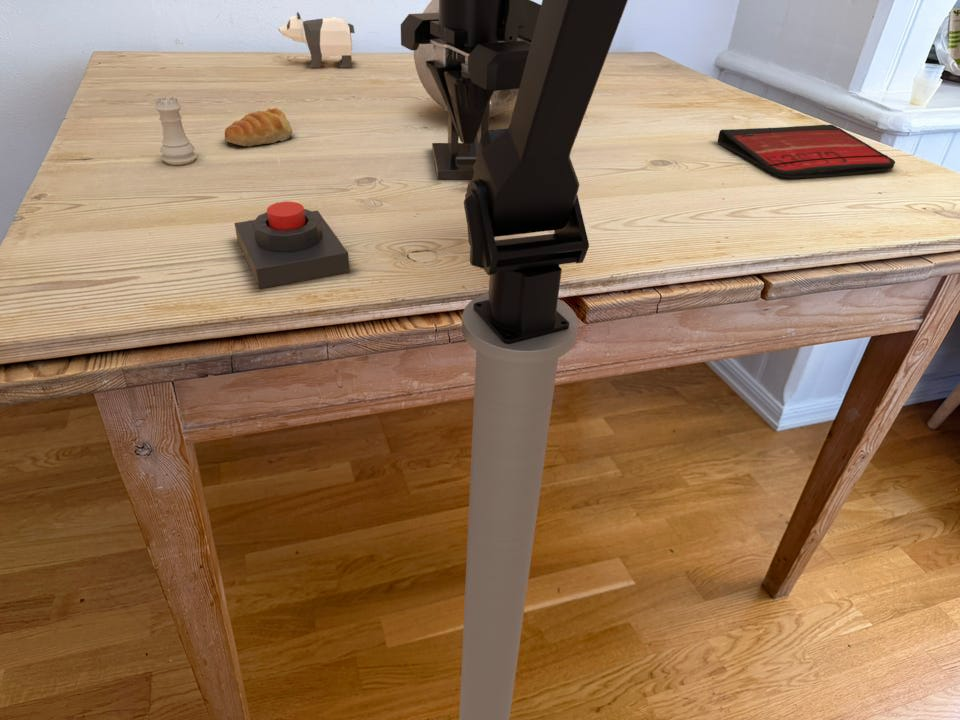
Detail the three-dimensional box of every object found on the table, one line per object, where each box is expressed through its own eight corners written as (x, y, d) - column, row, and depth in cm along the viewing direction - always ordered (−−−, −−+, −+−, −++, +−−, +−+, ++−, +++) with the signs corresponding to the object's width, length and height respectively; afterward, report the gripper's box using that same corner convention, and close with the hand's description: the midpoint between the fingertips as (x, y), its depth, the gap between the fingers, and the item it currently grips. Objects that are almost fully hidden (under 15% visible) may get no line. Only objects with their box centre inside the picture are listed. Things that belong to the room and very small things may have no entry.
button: (309, 229, 68) (308, 212, 67) (273, 234, 67) (271, 218, 66) (300, 215, 71) (298, 199, 70) (265, 220, 69) (263, 204, 68)
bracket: (504, 178, 91) (509, 103, 85) (437, 179, 90) (438, 103, 84) (493, 150, 100) (496, 81, 94) (432, 151, 98) (432, 80, 93)
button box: (349, 272, 69) (346, 236, 66) (259, 289, 65) (253, 251, 63) (319, 228, 76) (316, 194, 74) (237, 241, 73) (231, 206, 71)
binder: (719, 127, 105) (832, 122, 110) (715, 142, 107) (826, 136, 112) (781, 169, 93) (904, 160, 98) (775, 185, 95) (897, 176, 100)
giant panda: (356, 61, 140) (353, 10, 135) (357, 68, 136) (353, 15, 130) (283, 61, 138) (277, 9, 132) (282, 68, 133) (275, 14, 128)
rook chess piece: (163, 167, 89) (148, 105, 84) (161, 156, 92) (146, 95, 88) (198, 163, 91) (186, 102, 86) (195, 152, 94) (183, 93, 89)
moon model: (393, 123, 108) (388, -19, 96) (444, 93, 123) (445, -33, 112) (510, 143, 103) (520, -5, 91) (548, 109, 118) (561, -21, 106)
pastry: (242, 152, 95) (237, 125, 92) (215, 141, 98) (210, 114, 96) (297, 137, 101) (293, 111, 98) (270, 127, 104) (266, 102, 102)
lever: (494, 171, 86) (496, 157, 84) (455, 171, 86) (457, 157, 84) (485, 105, 92) (487, 91, 90) (448, 105, 91) (449, 90, 89)
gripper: (617, -30, 54) (590, 163, 63) (501, -54, 67) (492, 108, 76) (495, -27, 49) (485, 180, 58) (396, -54, 62) (400, 119, 71)
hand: (467, 142), depth 66 cm, fingers closed
